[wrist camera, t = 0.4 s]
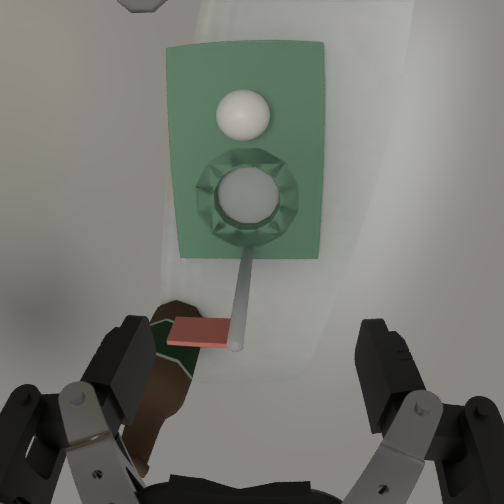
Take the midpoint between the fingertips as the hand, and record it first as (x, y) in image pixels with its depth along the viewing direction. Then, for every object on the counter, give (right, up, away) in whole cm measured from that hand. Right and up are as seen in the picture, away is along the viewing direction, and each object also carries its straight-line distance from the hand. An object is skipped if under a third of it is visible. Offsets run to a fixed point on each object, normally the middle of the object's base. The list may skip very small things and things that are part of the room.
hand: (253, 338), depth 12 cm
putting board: (-1, +14, +22) cm, 26 cm away
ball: (-1, +16, +16) cm, 23 cm away
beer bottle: (-10, -7, +33) cm, 35 cm away
